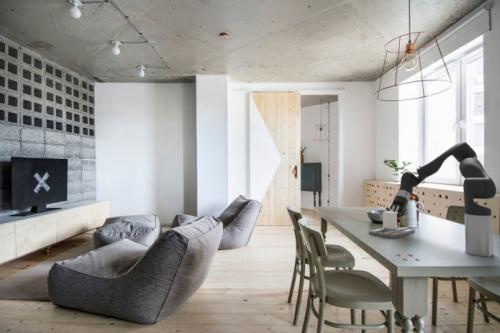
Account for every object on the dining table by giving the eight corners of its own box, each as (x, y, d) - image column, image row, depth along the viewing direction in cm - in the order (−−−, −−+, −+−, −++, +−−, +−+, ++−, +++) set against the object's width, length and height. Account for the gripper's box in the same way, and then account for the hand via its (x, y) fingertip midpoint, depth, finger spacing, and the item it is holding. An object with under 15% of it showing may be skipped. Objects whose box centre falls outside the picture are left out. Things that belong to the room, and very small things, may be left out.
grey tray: (414, 232, 166) (414, 228, 166) (392, 238, 152) (392, 233, 152) (390, 228, 178) (390, 224, 178) (368, 233, 164) (368, 229, 164)
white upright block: (397, 231, 163) (397, 212, 163) (392, 232, 160) (392, 213, 160) (387, 229, 168) (387, 211, 168) (382, 230, 165) (382, 211, 165)
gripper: (415, 204, 169) (405, 227, 162) (393, 202, 180) (383, 224, 173) (410, 195, 166) (400, 219, 159) (388, 194, 177) (377, 216, 170)
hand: (391, 221), depth 166 cm, fingers closed
